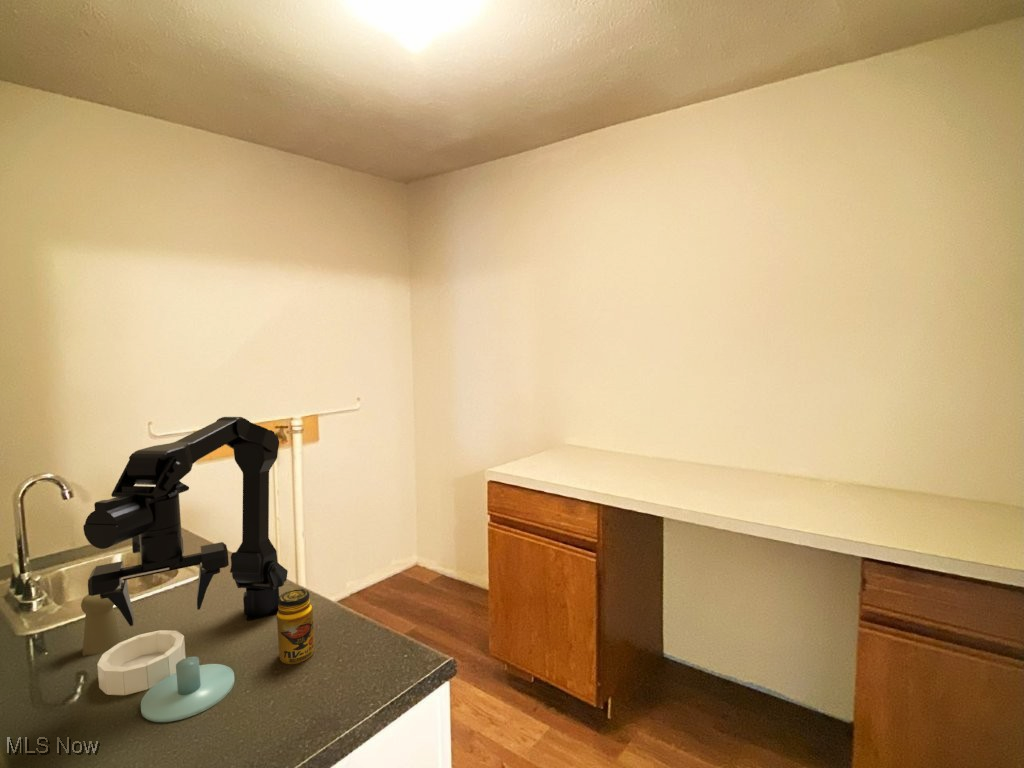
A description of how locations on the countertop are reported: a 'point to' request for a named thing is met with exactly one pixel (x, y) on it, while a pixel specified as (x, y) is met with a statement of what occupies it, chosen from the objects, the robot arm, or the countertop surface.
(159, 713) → the lid
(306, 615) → the condiment
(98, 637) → the pepper shaker
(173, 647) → the bowl
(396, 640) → the countertop surface
